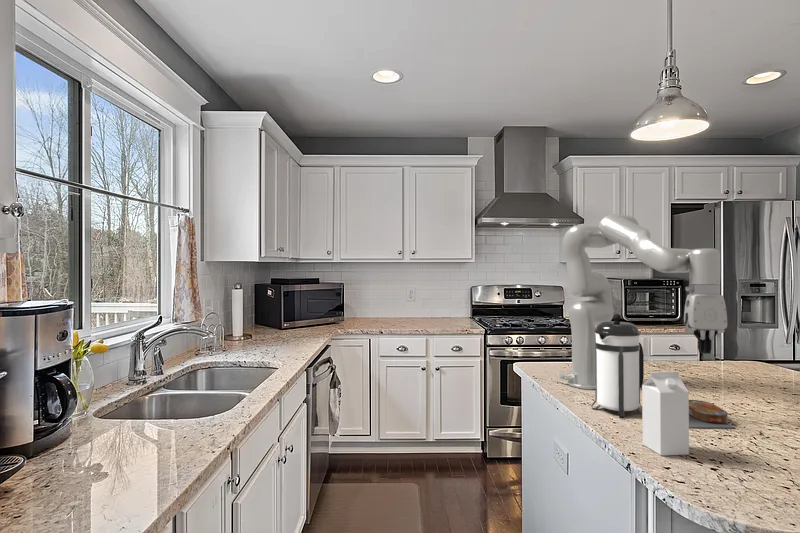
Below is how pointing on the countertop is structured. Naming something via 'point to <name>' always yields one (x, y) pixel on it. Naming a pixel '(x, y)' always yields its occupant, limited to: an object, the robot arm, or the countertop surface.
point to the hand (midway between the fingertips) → (704, 352)
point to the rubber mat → (707, 424)
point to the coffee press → (618, 366)
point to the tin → (707, 412)
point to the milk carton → (665, 414)
